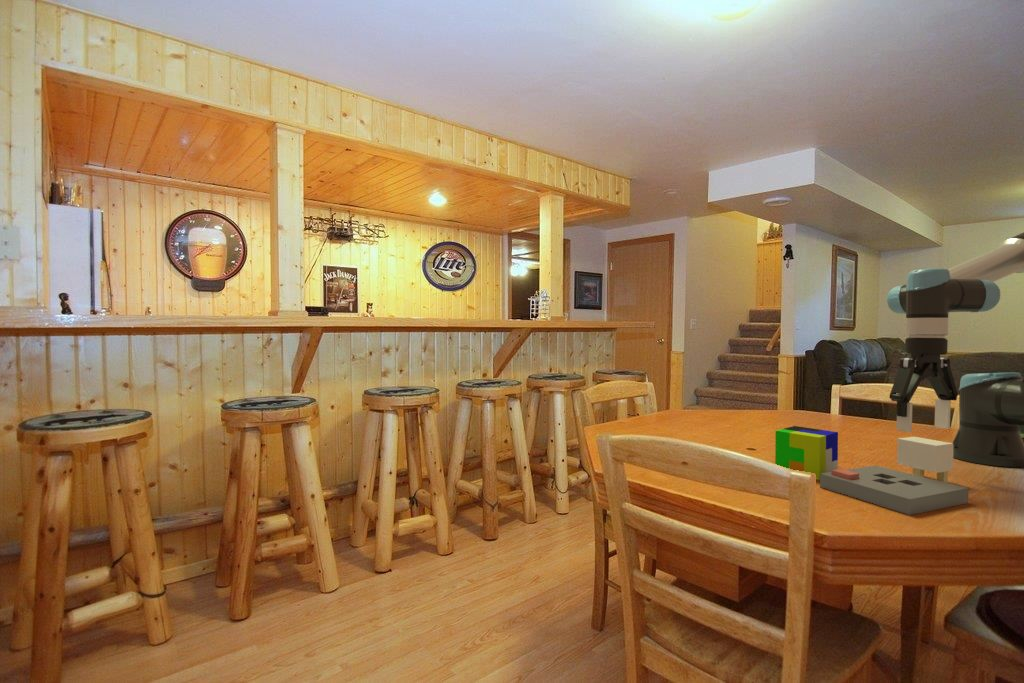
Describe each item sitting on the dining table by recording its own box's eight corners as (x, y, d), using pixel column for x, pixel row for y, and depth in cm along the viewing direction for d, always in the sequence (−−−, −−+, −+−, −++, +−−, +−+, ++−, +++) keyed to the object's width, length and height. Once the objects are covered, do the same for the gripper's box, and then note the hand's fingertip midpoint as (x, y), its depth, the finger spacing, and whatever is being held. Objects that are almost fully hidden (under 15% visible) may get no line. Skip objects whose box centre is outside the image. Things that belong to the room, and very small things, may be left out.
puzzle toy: (837, 473, 121) (838, 432, 121) (819, 480, 116) (819, 437, 115) (794, 464, 129) (794, 425, 129) (775, 471, 124) (775, 430, 123)
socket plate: (875, 478, 117) (875, 461, 117) (968, 502, 100) (968, 483, 100) (820, 487, 110) (820, 469, 110) (909, 515, 94) (909, 493, 94)
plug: (913, 473, 120) (914, 436, 120) (952, 483, 113) (953, 443, 112) (897, 476, 118) (897, 438, 118) (935, 486, 111) (936, 445, 110)
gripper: (941, 337, 123) (939, 423, 123) (872, 336, 114) (869, 429, 114) (979, 337, 116) (976, 429, 116) (908, 336, 107) (905, 436, 107)
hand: (923, 429), depth 115 cm, fingers open, 13 cm apart
